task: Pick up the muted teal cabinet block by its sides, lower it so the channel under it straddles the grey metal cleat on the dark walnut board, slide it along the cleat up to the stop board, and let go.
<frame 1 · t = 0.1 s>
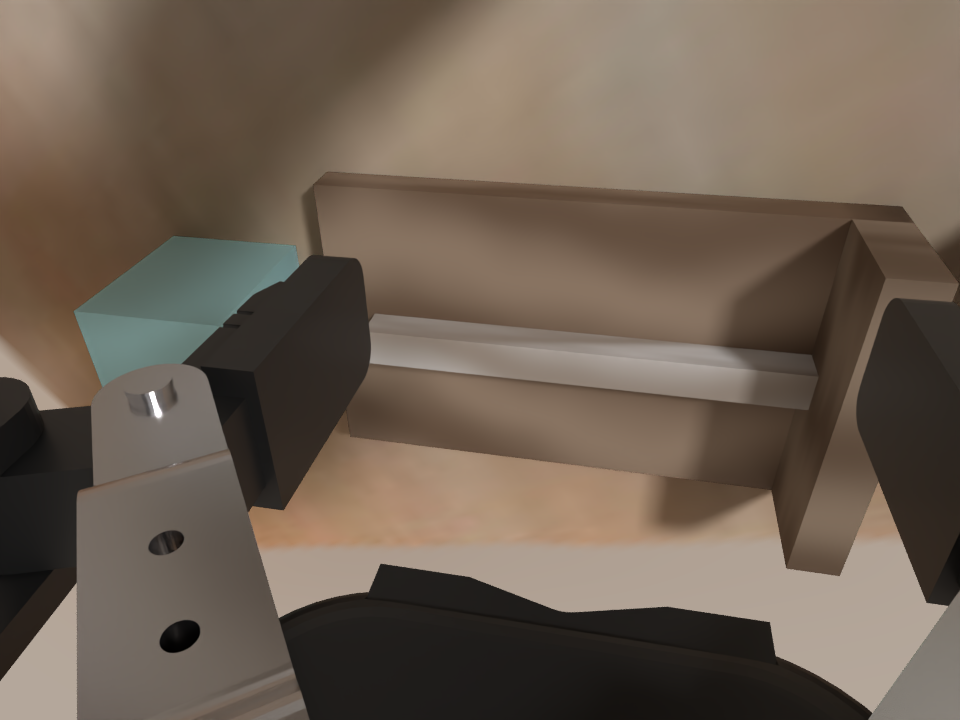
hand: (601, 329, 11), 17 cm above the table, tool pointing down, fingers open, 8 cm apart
cleat board: (583, 330, 31), on the table
cabinet block: (246, 298, 34), on the table
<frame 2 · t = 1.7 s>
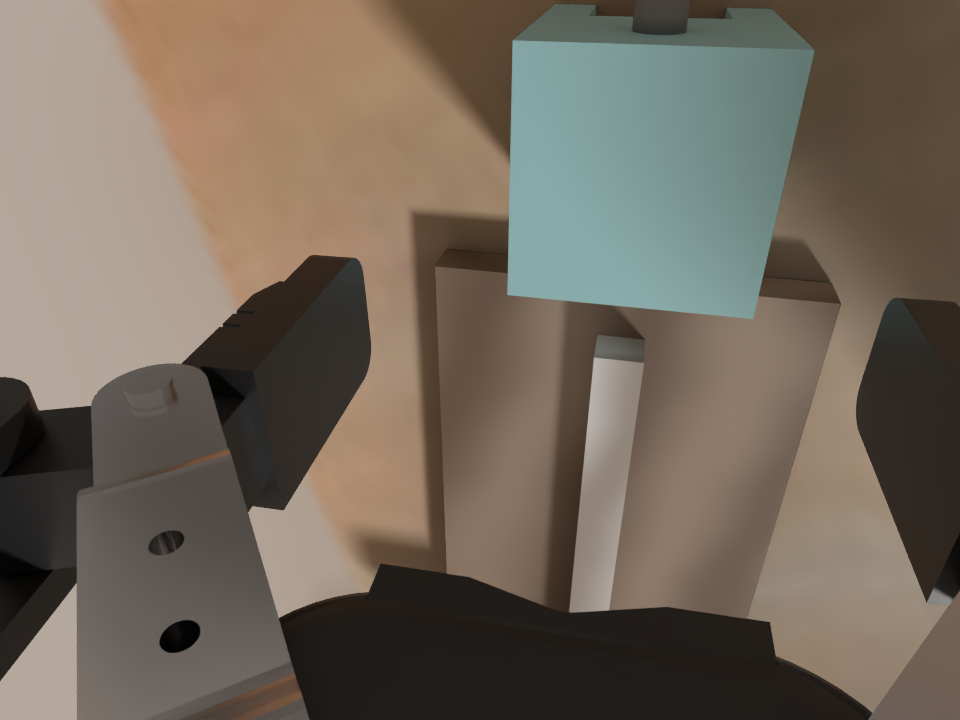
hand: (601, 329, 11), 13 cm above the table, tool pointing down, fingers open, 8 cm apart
cleat board: (601, 503, 30), on the table
cabinet block: (647, 115, 22), on the table
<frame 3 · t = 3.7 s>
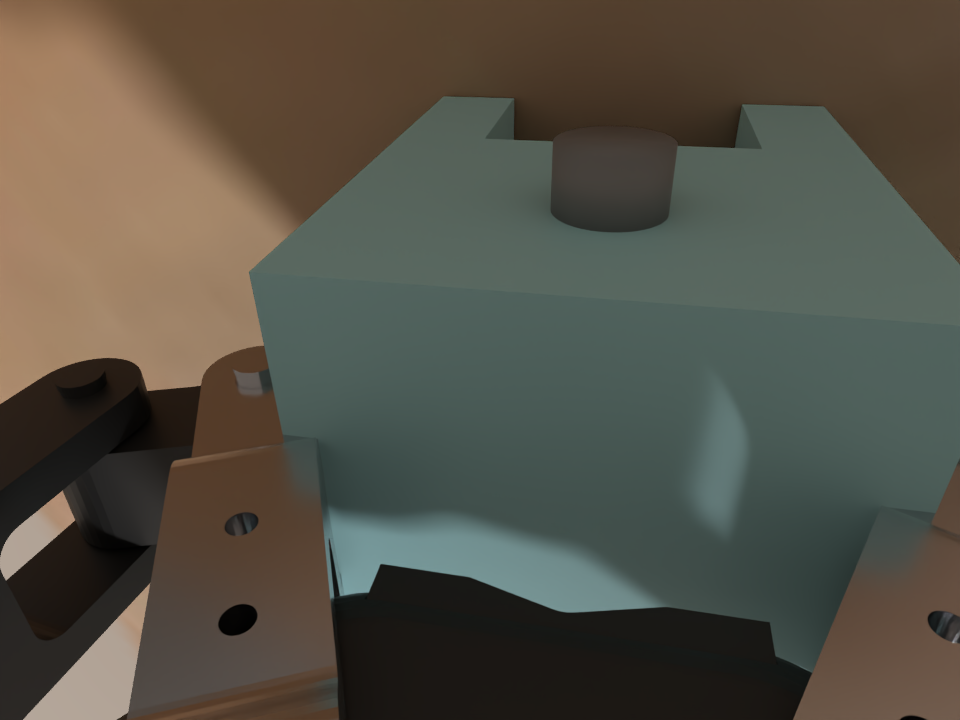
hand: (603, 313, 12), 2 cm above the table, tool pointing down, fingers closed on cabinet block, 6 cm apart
cabinet block: (610, 271, 13), on the table, touching gripper
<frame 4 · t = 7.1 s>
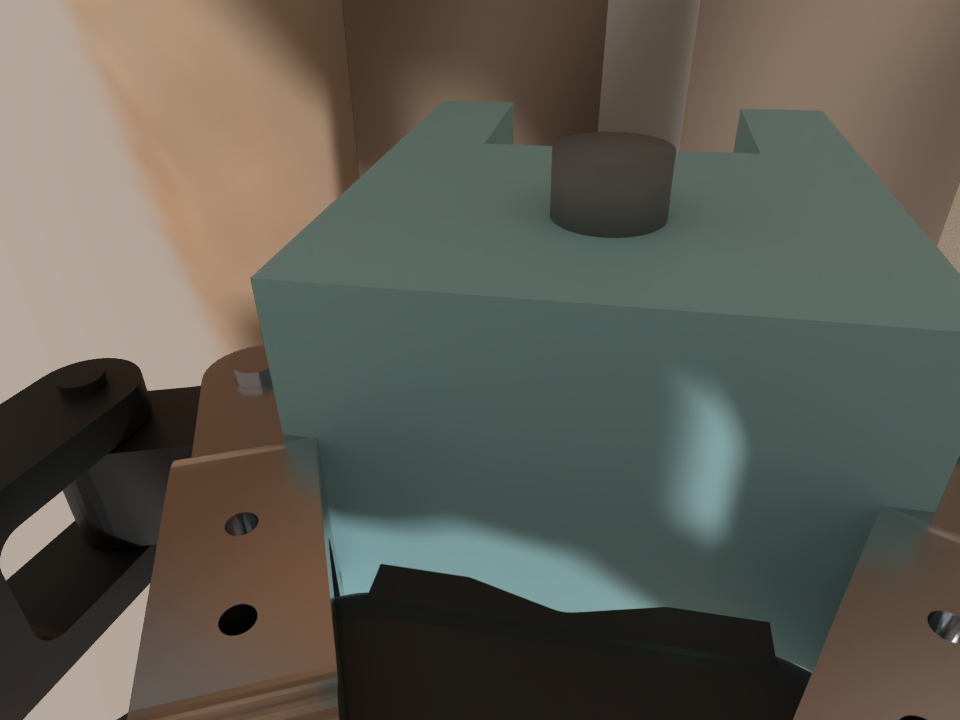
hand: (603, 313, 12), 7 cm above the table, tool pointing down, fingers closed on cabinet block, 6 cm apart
cleat board: (630, 207, 18), on the table
cabinet block: (609, 274, 13), point 5 cm above the table, touching gripper
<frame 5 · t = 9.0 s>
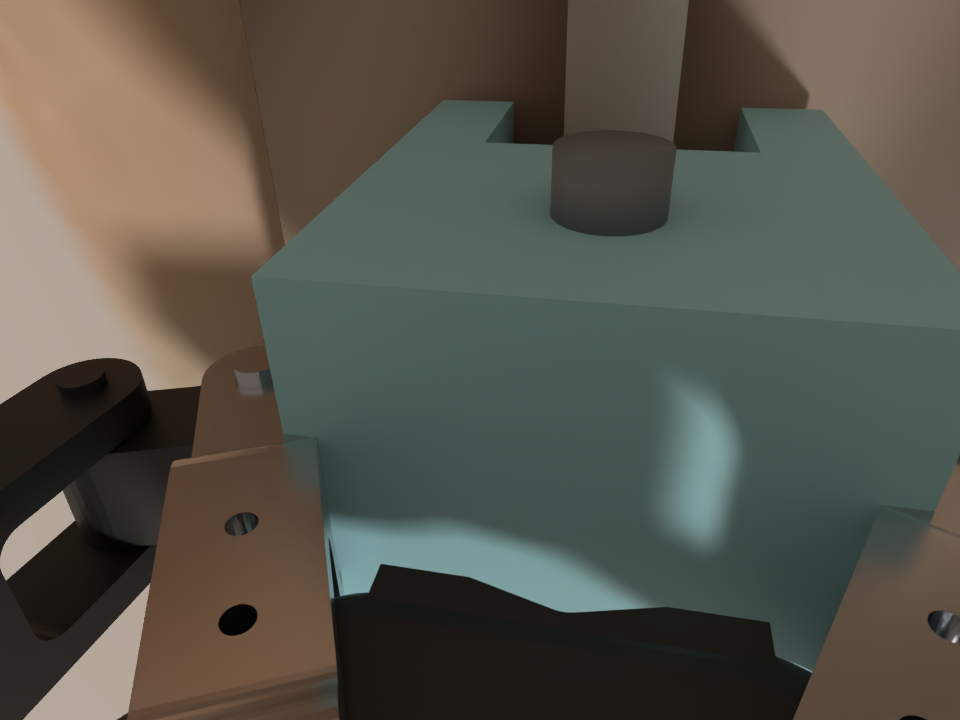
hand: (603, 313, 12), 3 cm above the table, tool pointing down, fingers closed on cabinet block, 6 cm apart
cleat board: (627, 57, 13), on the table
cabinet block: (609, 274, 13), point 2 cm above the table, touching gripper
when the fingers open (3 cm above the table, at t = 10.6 s): cabinet block stays where it is, resting on cleat board.
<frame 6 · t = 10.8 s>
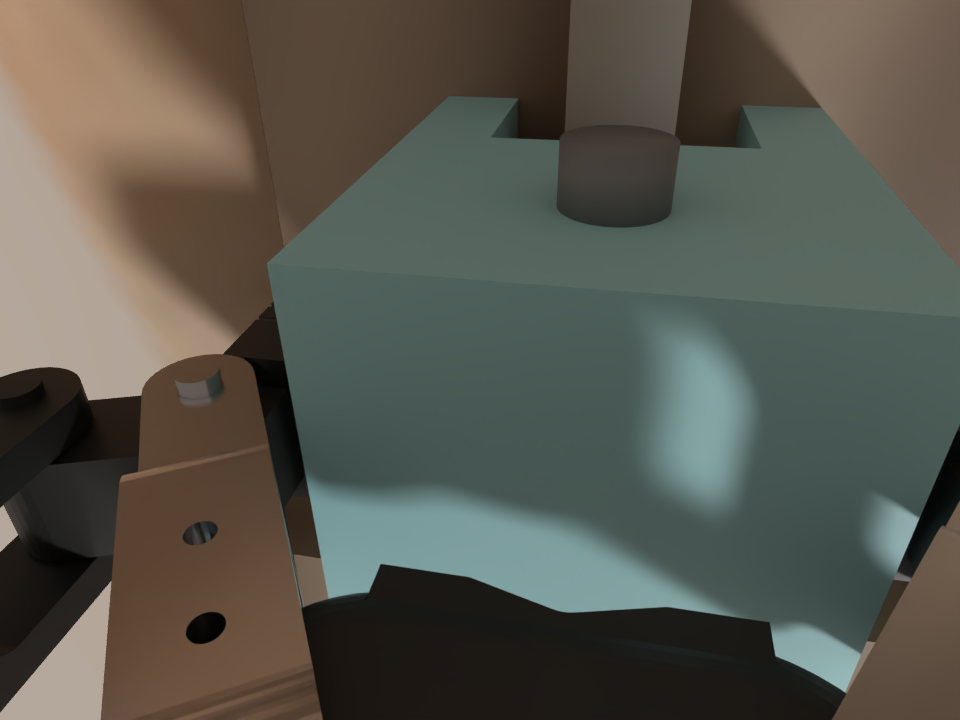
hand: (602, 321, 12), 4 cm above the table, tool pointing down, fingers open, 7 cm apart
cabinet block: (611, 269, 13), point 1 cm above the table, touching cleat board
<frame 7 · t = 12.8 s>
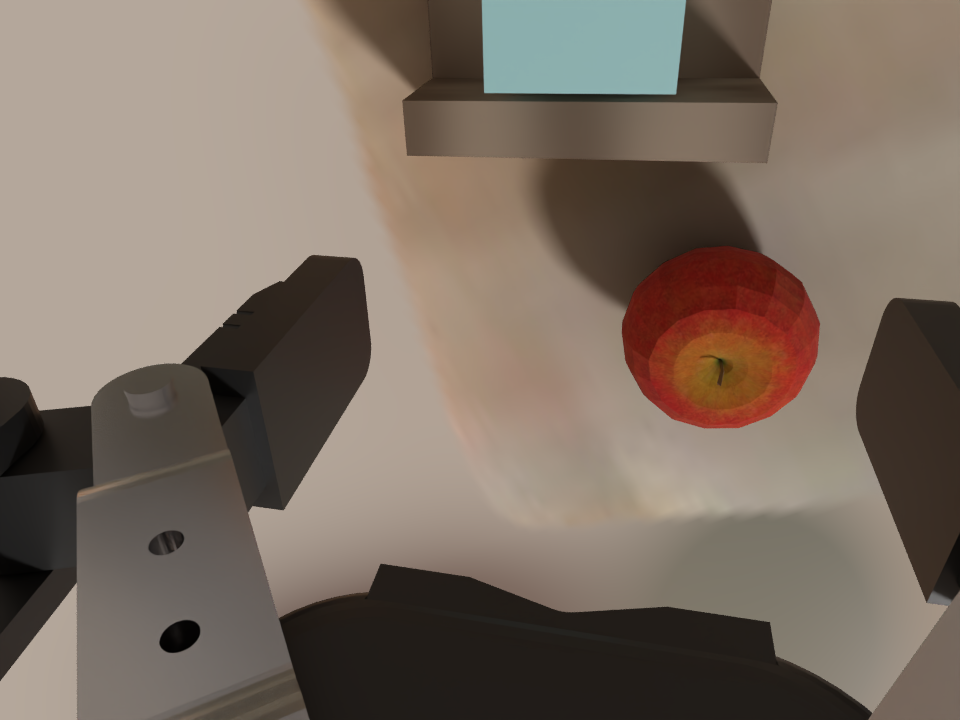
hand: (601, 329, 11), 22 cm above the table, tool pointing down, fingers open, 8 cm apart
apple: (708, 292, 34), on the table
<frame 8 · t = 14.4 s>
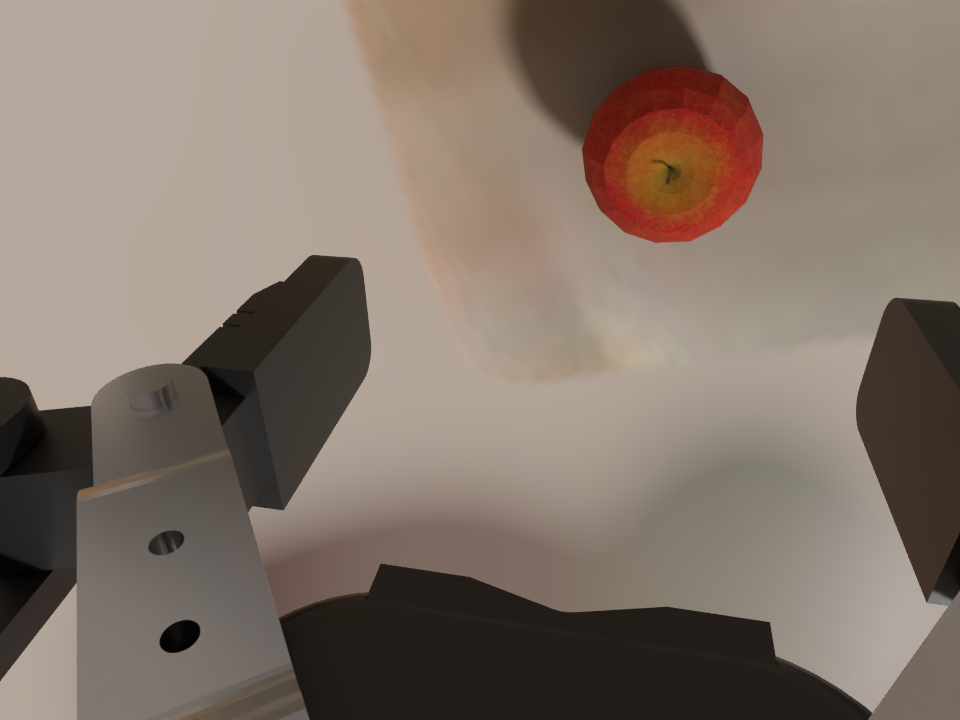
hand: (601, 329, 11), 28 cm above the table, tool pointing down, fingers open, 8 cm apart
apple: (667, 131, 37), on the table
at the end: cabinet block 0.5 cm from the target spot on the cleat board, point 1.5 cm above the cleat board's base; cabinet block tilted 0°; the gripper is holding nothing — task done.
